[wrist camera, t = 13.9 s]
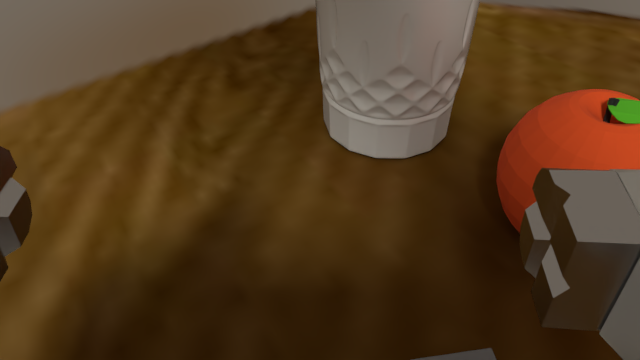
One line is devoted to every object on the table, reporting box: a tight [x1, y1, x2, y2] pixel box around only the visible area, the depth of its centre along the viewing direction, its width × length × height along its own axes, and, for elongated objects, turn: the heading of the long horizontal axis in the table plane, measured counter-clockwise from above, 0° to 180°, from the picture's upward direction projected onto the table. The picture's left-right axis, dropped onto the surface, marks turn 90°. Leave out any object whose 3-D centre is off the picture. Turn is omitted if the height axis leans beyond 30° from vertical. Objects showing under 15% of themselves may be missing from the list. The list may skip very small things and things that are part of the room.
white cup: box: [316, 0, 480, 158], centre depth 30 cm, size 8×8×10 cm
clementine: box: [496, 89, 640, 233], centre depth 24 cm, size 8×7×7 cm
